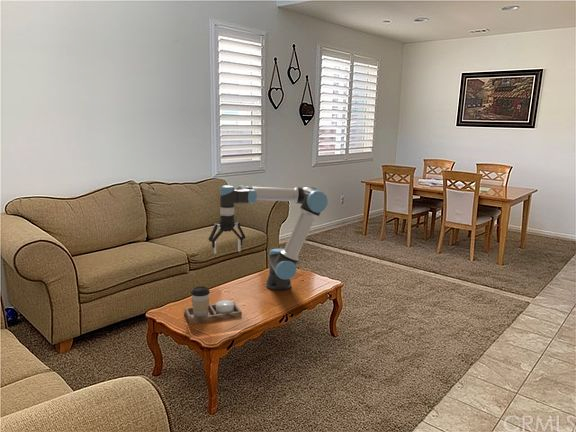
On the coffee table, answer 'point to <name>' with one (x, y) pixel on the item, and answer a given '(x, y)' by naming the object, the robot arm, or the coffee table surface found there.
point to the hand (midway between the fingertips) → (227, 252)
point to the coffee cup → (200, 301)
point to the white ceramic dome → (224, 307)
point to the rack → (211, 314)
